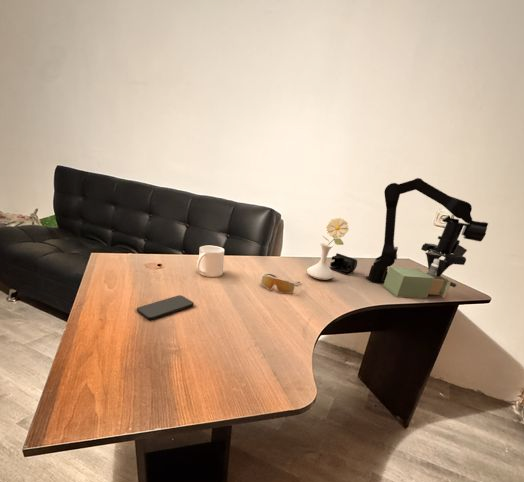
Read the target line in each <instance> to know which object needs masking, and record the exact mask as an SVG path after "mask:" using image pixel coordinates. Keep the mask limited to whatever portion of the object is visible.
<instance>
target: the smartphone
mask: <svg viewBox="0 0 524 482" xmlns="http://www.w3.org/2000/svg"><path fill="white" fill-rule="evenodd" d="M194 305H195V303H194V302H193V301H192V300H191V299H188V298H187V297H185V296H184V295H181V294H179V295H176V296H172V297H169V298H165V299H162V300H158V301H155V302H152V303H147V304H145V305H141V306H139V307H137V308H136V312H137V313H138V314H139V315H141V316H143V317H144V318H145V319H147V320H150V321H152V320H156V319H158V318H161V317H164V316H168V315H170V314H173V313H176V312H179V311H182V310H185V309H188V308H190V307H193V306H194Z"/></svg>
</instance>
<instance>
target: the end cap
mask: <svg viewBox="0 0 524 482" xmlns="http://www.w3.org/2000/svg"><path fill="white" fill-rule="evenodd" d="M357 267H358V260H357V259H356V258H353V257H350V256H347V255H345V254H341V253H339V252H338V253H337V252H336V254H335V255H333V256H331V262H330V265H329V268H330V269H331V270H332V271H335V272H337V273H340V274H342V275H345V276H348V275H350V274H352V273H354V272H355V270H356V269H357Z"/></svg>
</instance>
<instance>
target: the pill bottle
mask: <svg viewBox="0 0 524 482" xmlns="http://www.w3.org/2000/svg"><path fill="white" fill-rule="evenodd" d="M439 260H442V259H441V258H439V259H434V261H433V263H432V264H431V266H430V269H429V270H428V271H427V272H426V273H427V274H428V275H430V276H432V277H434V278H435V279H439V278H440V276H437V270H438V265H439Z"/></svg>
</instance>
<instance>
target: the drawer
mask: <svg viewBox="0 0 524 482" xmlns="http://www.w3.org/2000/svg"><path fill="white" fill-rule="evenodd" d="M450 287H452V288H456V287H457V284H456V283H455V282H453V281H452V280H450V279H449V278H448V277H445V276H443V275H442V274H441V275H440V278H439V279H434V281H433V284H432V286H431V289H430V291H429V293H428V295H437V296H438V295H439V296H441V297H445V296H446V294H447V292H448V290H449V288H450Z"/></svg>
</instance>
